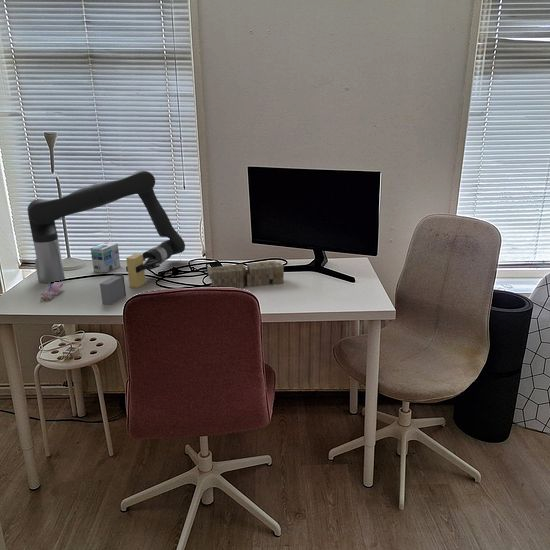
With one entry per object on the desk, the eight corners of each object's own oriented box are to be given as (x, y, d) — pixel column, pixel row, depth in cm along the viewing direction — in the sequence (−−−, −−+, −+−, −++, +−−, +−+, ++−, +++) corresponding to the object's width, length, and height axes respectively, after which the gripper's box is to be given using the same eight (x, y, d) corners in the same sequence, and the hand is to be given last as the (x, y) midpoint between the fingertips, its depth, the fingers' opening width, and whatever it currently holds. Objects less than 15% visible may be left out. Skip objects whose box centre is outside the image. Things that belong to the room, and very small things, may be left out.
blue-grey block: (117, 295, 187) (114, 274, 185) (126, 295, 186) (123, 274, 184) (102, 304, 179) (99, 282, 176) (111, 305, 178) (108, 283, 175)
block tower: (278, 280, 203) (207, 285, 196) (278, 260, 200) (206, 265, 193) (283, 286, 196) (210, 292, 189) (284, 266, 193) (209, 271, 186)
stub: (138, 282, 200) (134, 253, 196) (145, 282, 199) (142, 254, 195) (129, 287, 195) (126, 258, 191) (137, 287, 194) (134, 258, 190)
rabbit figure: (53, 305, 182) (70, 285, 195) (49, 292, 179) (66, 272, 192) (37, 305, 183) (54, 285, 196) (32, 292, 180) (51, 272, 193)
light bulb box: (105, 273, 212) (102, 249, 208) (93, 272, 214) (89, 248, 211) (121, 266, 221) (118, 242, 218) (108, 264, 224) (105, 241, 220)
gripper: (138, 247, 208) (114, 259, 193) (168, 249, 204) (146, 262, 189) (140, 264, 211) (117, 277, 195) (170, 266, 207) (148, 280, 191)
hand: (131, 269), depth 192 cm, fingers closed on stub, 3 cm apart
